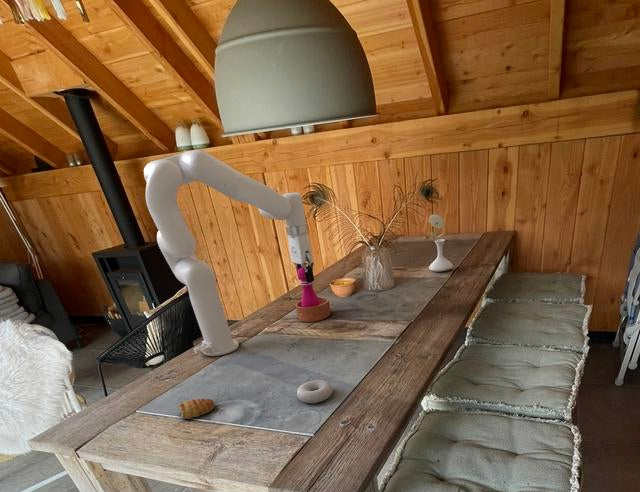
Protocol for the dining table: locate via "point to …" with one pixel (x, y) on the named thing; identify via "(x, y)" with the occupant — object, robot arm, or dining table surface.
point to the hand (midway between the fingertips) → (306, 279)
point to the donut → (314, 391)
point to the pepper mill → (307, 290)
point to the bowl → (313, 311)
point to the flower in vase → (439, 246)
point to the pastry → (196, 407)
